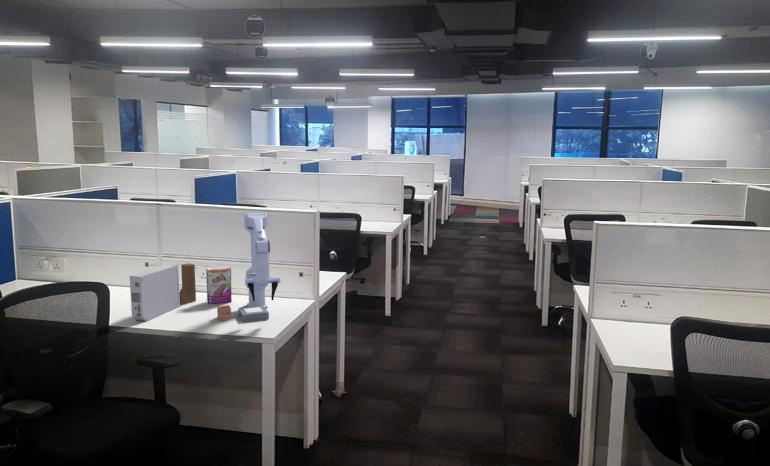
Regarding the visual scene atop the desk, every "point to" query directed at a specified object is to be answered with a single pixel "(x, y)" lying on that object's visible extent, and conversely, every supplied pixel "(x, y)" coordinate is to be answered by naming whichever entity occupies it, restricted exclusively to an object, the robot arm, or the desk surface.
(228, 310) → the salmon brown cube
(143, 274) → the game console
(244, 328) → the desk surface
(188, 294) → the wooden block
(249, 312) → the grey square frame
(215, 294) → the candy bar box
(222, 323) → the desk surface
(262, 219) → the robot arm
